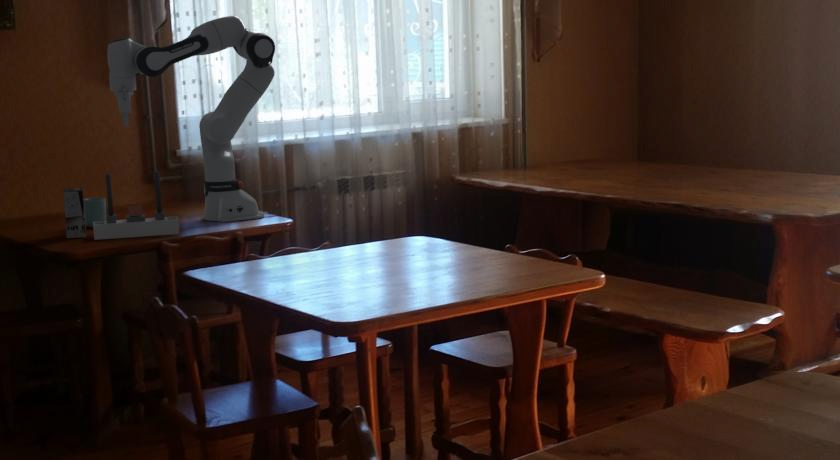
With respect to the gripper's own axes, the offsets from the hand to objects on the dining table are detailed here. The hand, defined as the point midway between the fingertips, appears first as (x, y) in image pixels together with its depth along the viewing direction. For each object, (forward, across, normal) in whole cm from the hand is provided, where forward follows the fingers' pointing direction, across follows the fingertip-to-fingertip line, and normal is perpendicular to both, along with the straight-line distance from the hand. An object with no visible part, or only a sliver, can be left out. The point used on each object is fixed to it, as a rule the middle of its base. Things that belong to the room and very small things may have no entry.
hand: (126, 125), depth 367 cm
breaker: (+30, -14, 0) cm, 33 cm away
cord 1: (+31, -14, +8) cm, 35 cm away
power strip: (+36, -14, 0) cm, 39 cm away
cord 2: (+32, -14, -8) cm, 35 cm away
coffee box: (+36, -6, +20) cm, 42 cm away
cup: (+37, +9, +13) cm, 40 cm away
